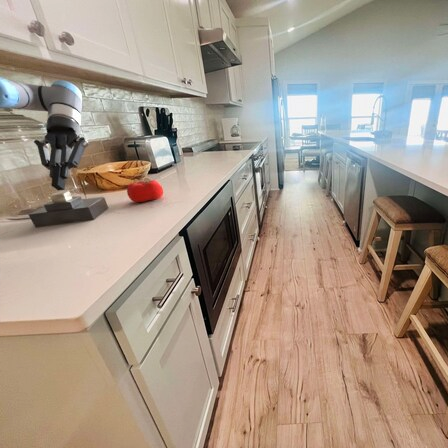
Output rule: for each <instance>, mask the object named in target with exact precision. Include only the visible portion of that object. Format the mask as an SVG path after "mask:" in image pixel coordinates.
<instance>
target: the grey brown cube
mask: <svg viewBox="0 0 448 448" xmlns="http://www.w3.org/2000/svg"><path fill="white" fill-rule="evenodd" d="M72 197H73V196H72V193H71V192H70V191H60V192H59V191H58V192H55V193H52V194H49V198H50V200H51V201H52V202H53V203H57V202H66V201H69V200H71V199H73V198H72Z"/></svg>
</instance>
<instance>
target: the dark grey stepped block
mask: <svg viewBox="0 0 448 448" xmlns="http://www.w3.org/2000/svg"><path fill="white" fill-rule="evenodd" d="M72 198H73V199H71V200H69V201H66V202H57V203H53V202H52V200H51V201H49V202H47V203H45V204H43V206H42V207H40V208H39V209H36V210H35V211H32V212H30V213H28V217H29V219H30V221H31V222H32V224H33V227H34V228H35V229H36V228H43V227H51V226H58V225H66V224H73V223H80V222H81V223H82V222H88V221H94V220H96V219H97V218H98V217H99V216H101V215H102V214H103V213H105V212H106V211H107V210H108V209H109V205H108V203H107V200H106V197H105V196H97V197H90V198H82V196H81V195H79V196H78V195H77V196H72Z"/></svg>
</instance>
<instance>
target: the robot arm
mask: <svg viewBox="0 0 448 448" xmlns="http://www.w3.org/2000/svg"><path fill="white" fill-rule="evenodd" d="M0 109H12V110H18V111H20V110H24V111H25V110H27V111H37V112H47V117H46V119H47V120H46V124H45V125H46V126H45V129H46V130H45V131H46V134H45V135H44V139H41V140H38V139H34V141H33V143H34V144H35V145H36V147H37V150H38V154H39V159H40V163H41V165H42V166H43V167H44V168H46V169H47V170H49V178H51V183H50V184H51V187H52V188H54V189H55V190H57V191H58V192H59V191H65V190H66V180H68V179H69V178H70V170H71V169H76V168H78V167H79V165H80V162H81V160H82V158H83V155H84V152H85V150H86V148H87V147H88V146H89V145H90V143H89V142H88V140H87V139H86V138H85V137H83V136H81V123H82V121H81V120H82V110H83V95H82V92H81V90H80V89H79V88H78V87H77V86H76V85H75V84H74V83H72V82H70V81H66V80H59V79H58V80H55V81H53V82H52V83H51V85H50V86H47V85H37V84H31V83H24V82H19V81H15V80H12V79H9V78H8V79H7V78H4V77H1V76H0ZM49 147H50V150H49Z"/></svg>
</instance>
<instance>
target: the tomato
mask: <svg viewBox="0 0 448 448" xmlns="http://www.w3.org/2000/svg"><path fill="white" fill-rule="evenodd" d="M126 193H127V197H128V198H129V199H130V200H131V201H132V202H136V203H145V202H148V201H155V200H157V199H160V198H161V197H163V195H164V188H163V186H162V185H161V184H160V183H159V181H157V180H155V179H151V180H146V181H145V180H141V181H137V182H132V183H131V182H130V183H129V184H128V185H127V189H126Z"/></svg>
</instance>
